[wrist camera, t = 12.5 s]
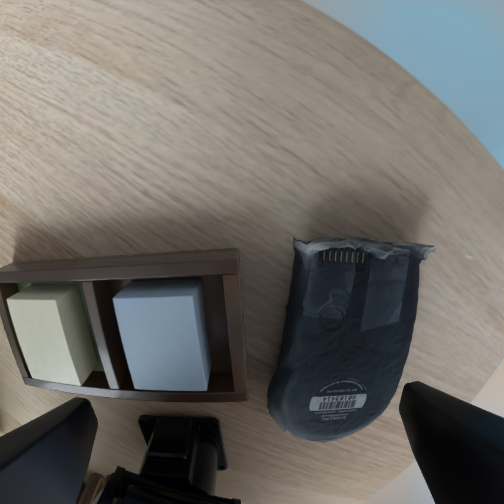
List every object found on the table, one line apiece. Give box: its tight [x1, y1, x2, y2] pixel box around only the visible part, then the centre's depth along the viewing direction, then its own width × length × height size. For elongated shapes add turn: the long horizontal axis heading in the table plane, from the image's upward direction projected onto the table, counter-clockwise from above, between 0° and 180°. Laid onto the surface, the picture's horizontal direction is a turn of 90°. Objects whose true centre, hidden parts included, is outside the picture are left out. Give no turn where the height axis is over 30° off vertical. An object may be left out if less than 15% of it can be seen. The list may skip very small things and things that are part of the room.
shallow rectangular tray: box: [0, 248, 248, 402], centre depth 18 cm, size 9×17×3 cm, turn 93°
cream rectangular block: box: [7, 284, 98, 386], centre depth 17 cm, size 6×4×3 cm
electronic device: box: [267, 236, 436, 442], centre depth 19 cm, size 9×6×15 cm
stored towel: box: [113, 278, 211, 391], centre depth 18 cm, size 6×4×3 cm
